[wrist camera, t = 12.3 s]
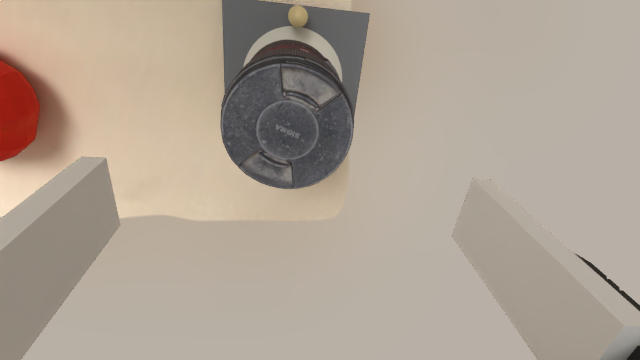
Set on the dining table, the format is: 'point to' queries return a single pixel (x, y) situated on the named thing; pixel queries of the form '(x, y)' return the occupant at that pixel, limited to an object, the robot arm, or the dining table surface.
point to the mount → (294, 35)
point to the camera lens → (287, 116)
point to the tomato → (16, 112)
